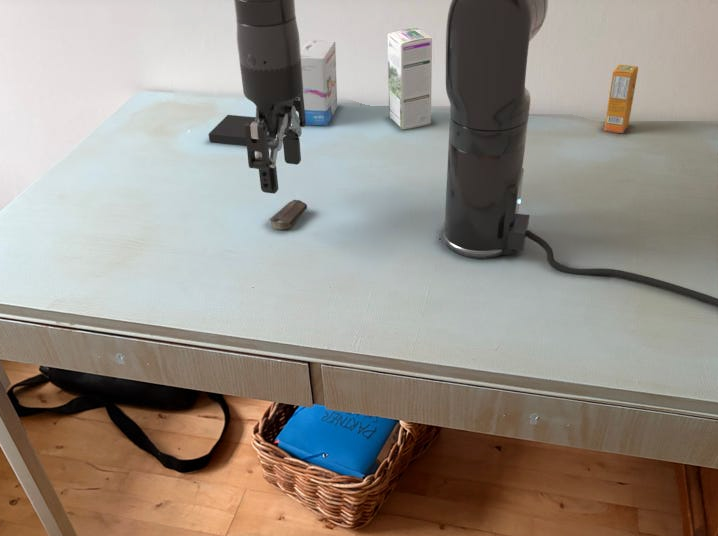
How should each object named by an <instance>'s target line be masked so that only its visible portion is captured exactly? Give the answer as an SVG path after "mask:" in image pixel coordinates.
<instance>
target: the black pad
mask: <svg viewBox="0 0 718 536" xmlns="http://www.w3.org/2000/svg"><path fill="white" fill-rule="evenodd" d="M255 118H256V116H247V115H246V116H245V115H234V114H227V115H226V116H225V117H224V118H223V119H222V120H221V121H220V122H219V123H218V124H217V125H216V126H215V127H214V128H213V129H211V131H210V132H208V139H209V142H210V143H215V144H225V145H233V146H234V145H235V146H244V147H245V146H246V147H247V144H246V134H245V123H246V121H251V122H254V121H255ZM268 142H272V139H268Z"/></svg>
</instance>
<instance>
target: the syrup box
mask: <svg viewBox="0 0 718 536" xmlns="http://www.w3.org/2000/svg"><path fill="white" fill-rule="evenodd" d="M432 68H433V37H431V36H430V35H428V34H426V33H425V32H424V31H422V30H420V29H419V28H417V27H416V28H415V27H413V28H406V29H405V28H404V29H401V30H396V31H393V32H388V33H387V73H388V74H387V75H388V76H387V79H388V81H387V82H388V83H387V84H388V118H389V119H390V120H391V121H392V122H393V123H394V124H395V125H396V126H397V127H398V128H399V129H401V130H409V129H415V128H418V127H424V126H427V125H431V123H432V82H433V81H432V79H433V78H432V77H433V76H432V75H433V69H432Z"/></svg>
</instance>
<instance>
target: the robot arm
mask: <svg viewBox="0 0 718 536" xmlns="http://www.w3.org/2000/svg"><path fill="white" fill-rule="evenodd" d="M233 2H234V3H233V4H234V11H235V19H236V21H235V22H236V44H237V52H238V61H239V68H240V69H239V70H240V76H241V85H242V91H243V95H244V97H245V98H246V99H247V100H249V101H250V102H251V103H253V105H255V117H256V118H255V121H254V122H251V121H246V123H245V134H246V144H247V146H246V155H247V160H248V168H249V169H255V170H258V175H259V182H260V183H259V184H260V190H261V192H263V193H266V194H276V193H277V192H278V191H279V180H278V171H277V159H278V152H279V151H280V152H281V150H282V149H283V155H284V156H283V157H284V162H285V163H286V164H289V165H295V166H296V165H299V164H300V163H301V161H302V154H301V142H300V141H301V140H300V137H302V134H303V132H302V128H305V127H306V125H305V124H306V119H305V108H304V98H303V80H302V66H301V53H300V50H301V40H300V33H299V32H300V31H299V26H298V23H297V15H296V2H295V0H233ZM548 7H549V0H451V2H450V4H449V8H448V13H447V18H446V28H445V29H446V30H445V90H446V91H445V92H446V95H447V98H448V101H449V106H450V107H449V108H450V109H449V129H448V148H447V149H448V150H447V171H446V187H445V189H446V190H445V192H446V193H445V211H444V226H443V227H444V229H443V237H442V238H443V242H444V244H445V246H446V248H448V249H449V250H451V251H452V252H453V253H455V254H457V255H460V256H462V257H463V256H464V257H468V258H474V259H489V258H494V257H498V256H511V254H512V250H517V251H523V250H524V247H525V243H526V239H527V238H528V239H529V240H531V241H533V242H535V243H536V244H537V245H539V246H540V247H541V248H542V249H543V250H544V251H545V254H546V259H547V262H548V264H549V265H550V267H552V268H554V269H555V270H556V271H559V272H561V273H565V274H569V275H577V276H611V277H617V278H621V279H627V280H631V281H635V282H639V283H644V284H647V285H650V286H654V287H658V288H661V289H664V290H668V291H671V292H674V293H676V294H677V293H678V294H681V295H684V296H686V297H690V298H693V299H695V300H698V301H702V302H705V303H708V304H710V305H713V306H716V307H718V297H714V296H712V295H709V294H705V293H703V292H699V291H697V290H693V289H691V288H688V287H684V286H681V285H677V284H675V283H671V282H668V281H665V280H660V279H658V278H654V277H650V276H646V275H643V274H639V273H634V272H630V271H627V270H626V271H625V270H620V269H615V268H573V267H568V266H566V265H563V264H562V263H560V262H558V261H557V260H556V259H555V255H554V251H553V248H552V247H551V245H550V244H549V243H548V242H547V241H546V240H545V239H543V238H542V237H540V236H539V235H537V234H536V233H533V232H532V231H531V230H529V223H530V214H524V213H520V205H521V196H522V189H523V180H524V172H525V170H524V167H523V166H524V158H525V151H526V143H527V142H526V141H527V132H528V125H529V124H528V123H529V117H530V107H531V94H530V92H529V89H527V88H526V76H527V66H528V57H529V56H528V54H529V49H530V47H529V46H530V42H531V40H532V39H534V38H535V36H536V35H537V34H538V33H539V31H540V30H541V28H542V27H543V25H544V23H545V20H546V17H547V13H548ZM297 113H298V114H297ZM268 139H271V140H272V141H270V142H268ZM273 140H274V141H273Z"/></svg>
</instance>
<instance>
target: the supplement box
mask: <svg viewBox="0 0 718 536" xmlns="http://www.w3.org/2000/svg"><path fill="white" fill-rule="evenodd" d="M638 72H639V66H636V65H629V64H618V65H617V66H616V67H615V69H614V70H613V71H612V75H611V81H610V89H609V96H608V102H607V109H606V114H605V120H604V121H605V122H604V128H603V130H604V132H609V133H616V134H624V132H625V131H626V129H627V128H628V126H629V124H630V118H631V112H632V107H633V101H634V95H635V90H636V84H637V78H638Z"/></svg>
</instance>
